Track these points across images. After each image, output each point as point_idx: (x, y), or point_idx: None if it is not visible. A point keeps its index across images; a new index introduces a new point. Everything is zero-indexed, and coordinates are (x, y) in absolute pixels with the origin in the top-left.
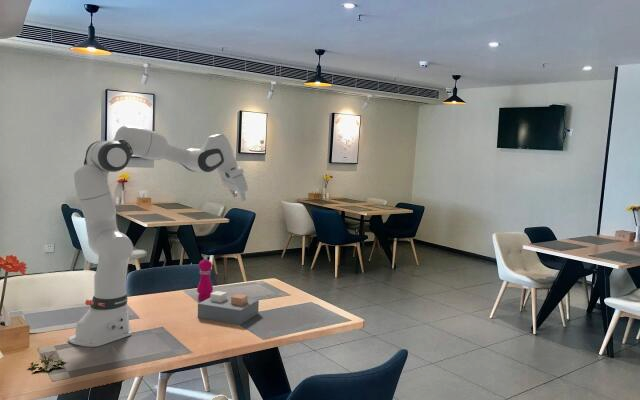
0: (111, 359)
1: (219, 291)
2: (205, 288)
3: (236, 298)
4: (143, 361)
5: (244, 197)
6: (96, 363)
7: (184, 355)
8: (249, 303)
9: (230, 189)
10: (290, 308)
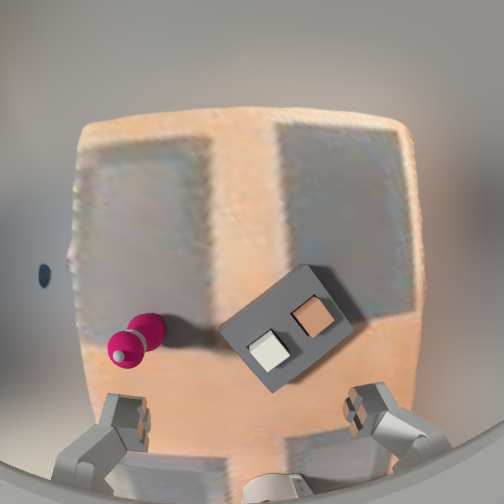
0: None
1: (257, 347)
2: (160, 340)
3: (322, 328)
4: (388, 460)
5: (389, 403)
6: None
7: None
8: (323, 295)
9: (109, 492)
10: (299, 185)
